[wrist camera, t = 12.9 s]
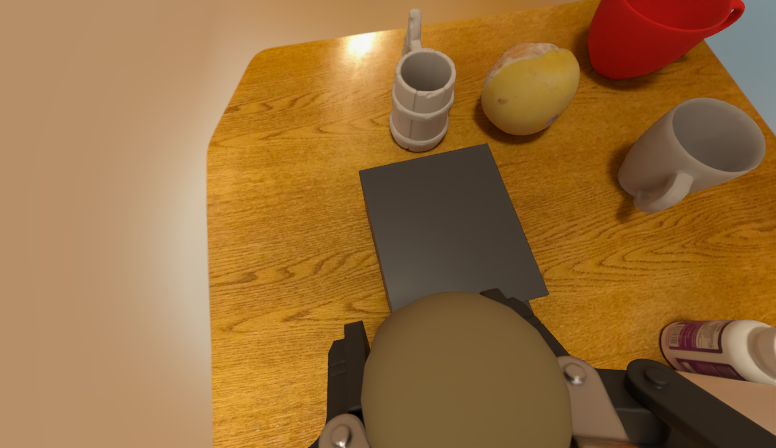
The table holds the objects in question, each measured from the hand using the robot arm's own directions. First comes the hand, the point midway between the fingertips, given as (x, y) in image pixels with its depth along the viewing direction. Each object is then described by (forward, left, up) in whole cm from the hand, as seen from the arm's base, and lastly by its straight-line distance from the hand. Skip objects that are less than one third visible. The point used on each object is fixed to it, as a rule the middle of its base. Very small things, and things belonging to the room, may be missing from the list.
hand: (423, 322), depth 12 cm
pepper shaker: (0, -2, -5) cm, 6 cm away
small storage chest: (+5, +7, -21) cm, 23 cm away
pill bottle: (+28, -9, -21) cm, 37 cm away
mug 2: (+32, +9, -21) cm, 40 cm away
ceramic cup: (+41, +28, -21) cm, 54 cm away
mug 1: (+8, +26, -21) cm, 34 cm away
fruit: (+21, +23, -21) cm, 38 cm away
